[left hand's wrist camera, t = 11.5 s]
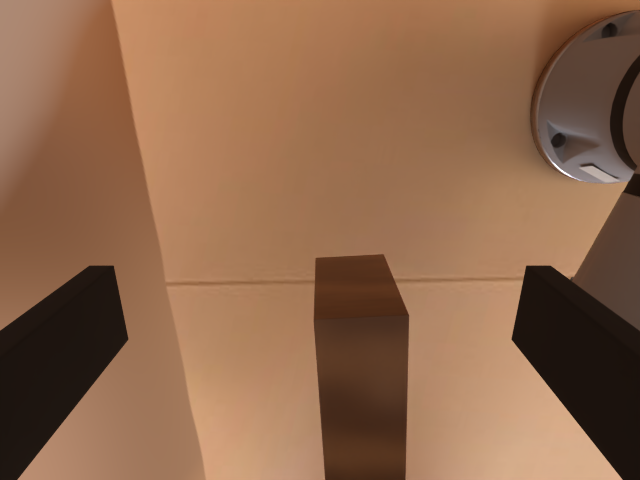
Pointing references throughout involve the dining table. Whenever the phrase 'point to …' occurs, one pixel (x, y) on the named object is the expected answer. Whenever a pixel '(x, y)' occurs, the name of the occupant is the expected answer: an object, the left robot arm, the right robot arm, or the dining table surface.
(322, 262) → the bar
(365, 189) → the dining table surface
